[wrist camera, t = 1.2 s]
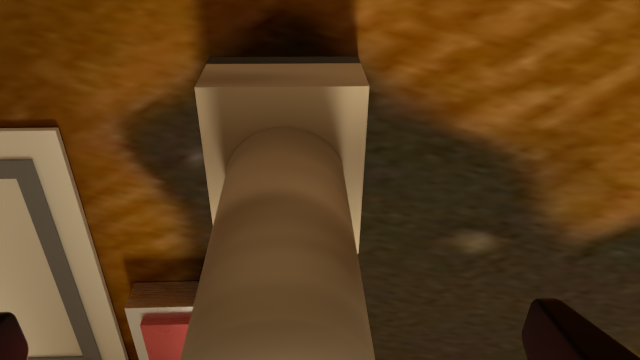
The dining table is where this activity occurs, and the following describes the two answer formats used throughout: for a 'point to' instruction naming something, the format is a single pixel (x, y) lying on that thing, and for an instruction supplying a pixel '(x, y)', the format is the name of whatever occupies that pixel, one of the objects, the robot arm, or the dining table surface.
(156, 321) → the ink pad
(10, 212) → the card
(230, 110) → the stamp
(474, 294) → the dining table surface
